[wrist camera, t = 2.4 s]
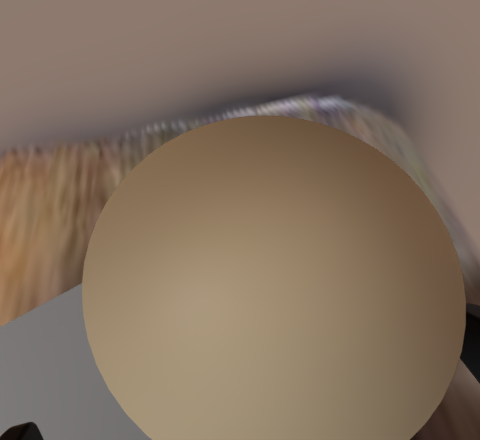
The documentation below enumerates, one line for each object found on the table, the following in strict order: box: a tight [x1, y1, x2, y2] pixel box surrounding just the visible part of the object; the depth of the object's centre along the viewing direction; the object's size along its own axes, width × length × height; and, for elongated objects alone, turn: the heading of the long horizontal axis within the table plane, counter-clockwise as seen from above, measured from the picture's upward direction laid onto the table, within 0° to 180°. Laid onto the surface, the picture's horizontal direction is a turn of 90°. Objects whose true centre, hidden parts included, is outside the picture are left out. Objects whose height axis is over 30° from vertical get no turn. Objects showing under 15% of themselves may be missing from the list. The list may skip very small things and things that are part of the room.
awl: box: [82, 116, 466, 440], centre depth 9 cm, size 4×4×13 cm
